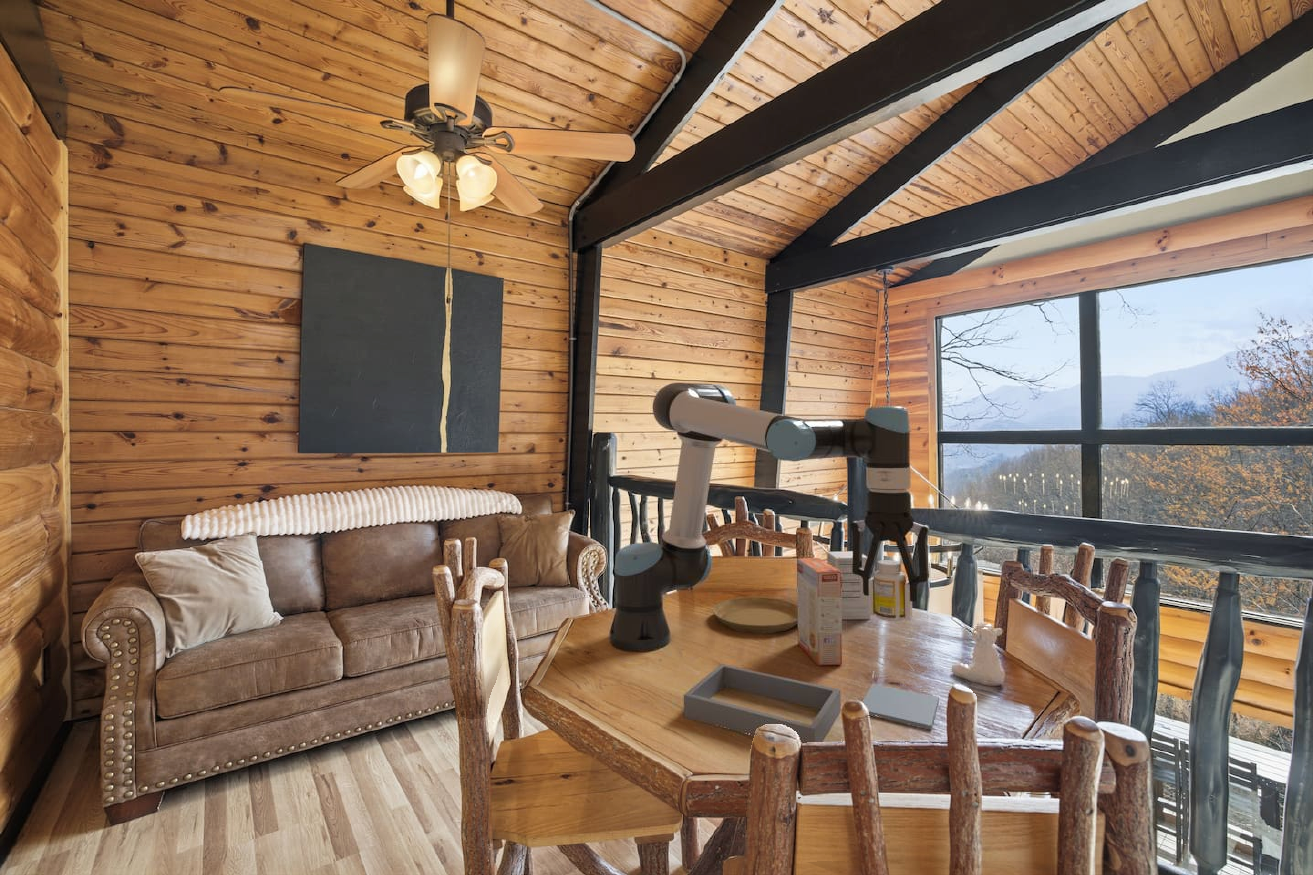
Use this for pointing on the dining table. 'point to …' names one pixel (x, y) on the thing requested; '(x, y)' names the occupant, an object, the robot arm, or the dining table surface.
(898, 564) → the supplement bottle
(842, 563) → the supplement box
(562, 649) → the dining table surface
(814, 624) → the cracker box
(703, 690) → the bin
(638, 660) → the dining table surface
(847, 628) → the dining table surface
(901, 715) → the mat
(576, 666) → the dining table surface
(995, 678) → the white creature statuette
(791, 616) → the plant saucer
